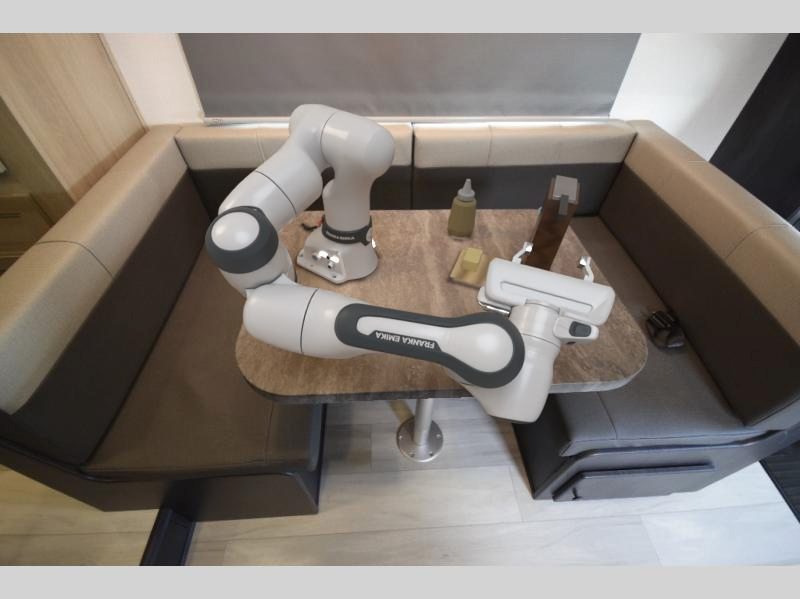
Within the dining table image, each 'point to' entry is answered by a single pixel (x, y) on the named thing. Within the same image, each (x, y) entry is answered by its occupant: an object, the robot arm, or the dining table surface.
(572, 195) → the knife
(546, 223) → the stand
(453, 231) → the squeeze bottle
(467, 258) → the butter
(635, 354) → the dining table surface
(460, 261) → the board
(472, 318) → the robot arm
